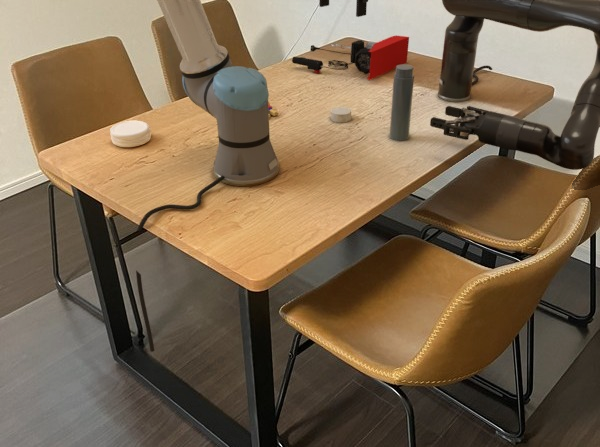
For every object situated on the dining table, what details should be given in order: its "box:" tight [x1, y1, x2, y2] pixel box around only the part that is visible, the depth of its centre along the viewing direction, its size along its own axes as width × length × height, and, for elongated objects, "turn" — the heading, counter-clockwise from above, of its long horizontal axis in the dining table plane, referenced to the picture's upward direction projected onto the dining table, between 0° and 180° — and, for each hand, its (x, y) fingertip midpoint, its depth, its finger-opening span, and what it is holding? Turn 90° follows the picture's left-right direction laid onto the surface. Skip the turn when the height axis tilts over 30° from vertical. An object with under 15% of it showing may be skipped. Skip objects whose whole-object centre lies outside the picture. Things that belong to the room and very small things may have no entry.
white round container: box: [109, 119, 152, 148], centre depth 160 cm, size 10×10×4 cm
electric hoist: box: [291, 35, 410, 81], centre depth 208 cm, size 10×27×30 cm
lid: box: [330, 106, 352, 123], centre depth 171 cm, size 6×6×2 cm
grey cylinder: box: [389, 63, 415, 142], centre depth 156 cm, size 5×5×18 cm
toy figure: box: [268, 101, 278, 119], centre depth 176 cm, size 2×7×12 cm
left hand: (342, 10), depth 156 cm, fingers open, 13 cm apart
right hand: (438, 115), depth 151 cm, fingers open, 8 cm apart
